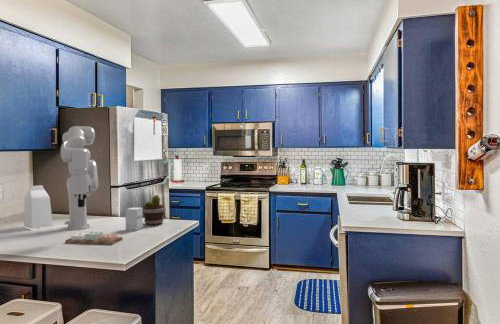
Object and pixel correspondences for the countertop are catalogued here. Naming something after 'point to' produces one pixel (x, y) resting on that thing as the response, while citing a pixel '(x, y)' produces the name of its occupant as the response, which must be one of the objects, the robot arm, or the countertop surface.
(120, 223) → the countertop surface
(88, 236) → the tile two
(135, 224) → the supplement box
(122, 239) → the board
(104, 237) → the tile three
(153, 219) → the flowerpot
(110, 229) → the countertop surface
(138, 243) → the countertop surface
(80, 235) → the tile one
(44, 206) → the milk
